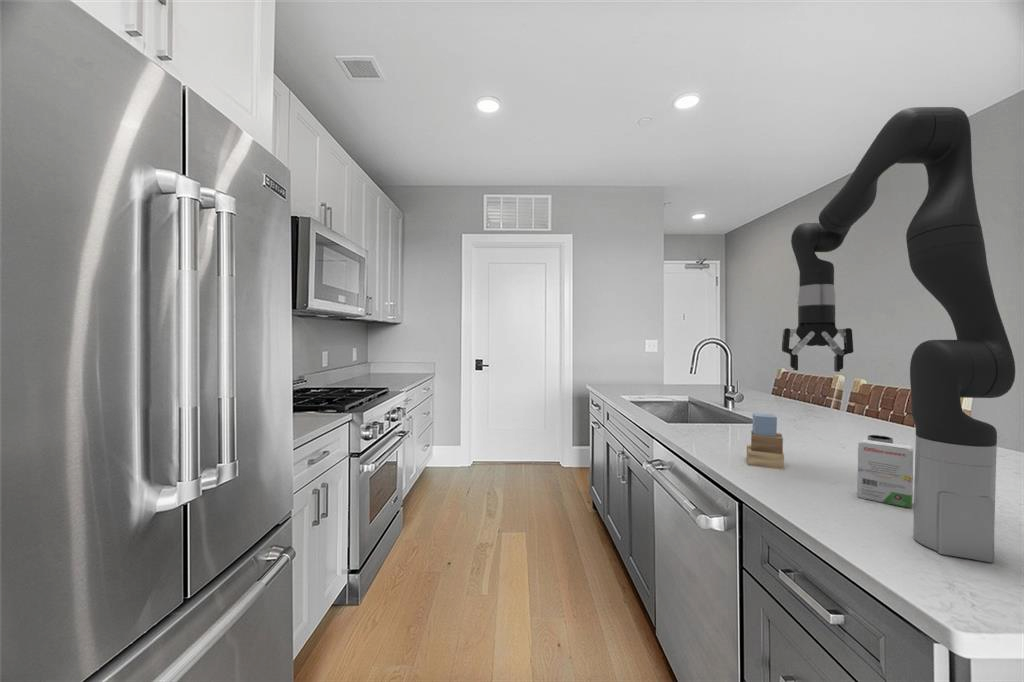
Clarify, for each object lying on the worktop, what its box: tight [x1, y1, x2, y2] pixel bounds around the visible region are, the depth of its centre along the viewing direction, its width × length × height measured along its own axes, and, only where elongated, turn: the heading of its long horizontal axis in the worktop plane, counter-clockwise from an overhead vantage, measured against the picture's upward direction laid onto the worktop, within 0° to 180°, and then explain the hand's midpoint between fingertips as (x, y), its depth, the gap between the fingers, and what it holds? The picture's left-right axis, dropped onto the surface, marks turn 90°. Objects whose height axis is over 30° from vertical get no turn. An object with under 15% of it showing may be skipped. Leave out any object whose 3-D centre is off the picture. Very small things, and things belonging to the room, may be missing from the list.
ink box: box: [856, 439, 914, 509], centre depth 92 cm, size 8×5×12 cm, turn 44°
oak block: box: [746, 443, 785, 470], centre depth 118 cm, size 8×8×4 cm
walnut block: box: [750, 430, 784, 454], centre depth 117 cm, size 7×7×4 cm
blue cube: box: [751, 412, 778, 437], centre depth 118 cm, size 5×5×5 cm
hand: (816, 370), depth 108 cm, fingers open, 8 cm apart
